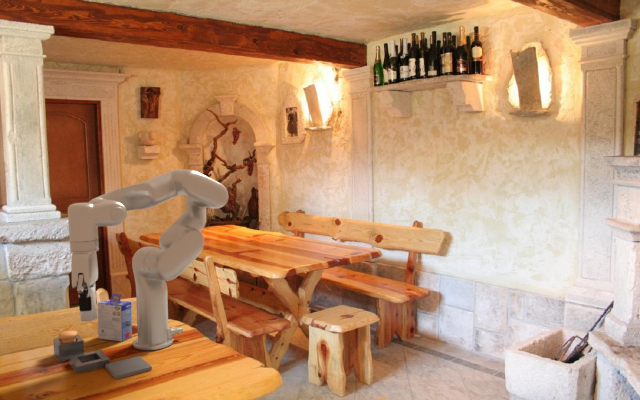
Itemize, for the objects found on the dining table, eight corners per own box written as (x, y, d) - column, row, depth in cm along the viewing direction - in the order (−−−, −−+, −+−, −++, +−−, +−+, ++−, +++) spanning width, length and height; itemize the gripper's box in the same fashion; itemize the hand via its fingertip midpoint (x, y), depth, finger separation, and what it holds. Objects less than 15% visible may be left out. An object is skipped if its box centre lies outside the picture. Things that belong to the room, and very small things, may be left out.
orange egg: (75, 346, 167) (75, 329, 167) (80, 351, 163) (79, 333, 163) (57, 350, 164) (56, 332, 164) (61, 355, 160) (60, 337, 159)
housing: (78, 349, 169) (77, 334, 168) (84, 356, 163) (83, 340, 163) (54, 354, 164) (53, 338, 164) (59, 361, 159) (58, 345, 158)
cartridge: (83, 316, 158) (81, 286, 157) (98, 315, 158) (97, 286, 157) (78, 321, 154) (76, 291, 153) (94, 320, 154) (92, 290, 153)
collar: (100, 356, 163) (100, 349, 163) (109, 365, 156) (109, 359, 156) (69, 363, 158) (68, 356, 158) (77, 373, 151) (76, 366, 150)
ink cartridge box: (133, 336, 180) (131, 294, 179) (122, 342, 175) (121, 298, 173) (109, 333, 183) (107, 292, 182) (97, 339, 178) (95, 296, 177)
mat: (139, 359, 161) (139, 355, 161) (151, 370, 153) (151, 366, 153) (105, 367, 155) (105, 364, 155) (115, 379, 147) (115, 375, 147)
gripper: (79, 241, 161) (83, 300, 163) (60, 252, 145) (65, 318, 147) (105, 240, 162) (109, 298, 164) (89, 251, 146) (93, 316, 148)
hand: (88, 307), depth 156 cm, fingers closed on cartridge, 4 cm apart
